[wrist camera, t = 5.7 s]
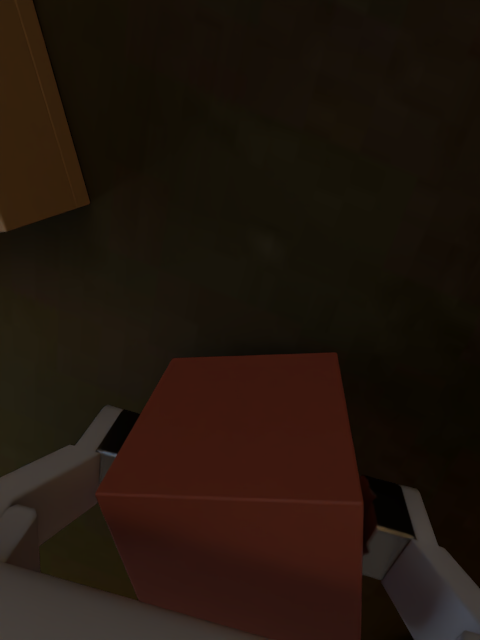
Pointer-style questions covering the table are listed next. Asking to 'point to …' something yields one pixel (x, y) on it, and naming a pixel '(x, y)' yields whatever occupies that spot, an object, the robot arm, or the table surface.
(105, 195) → the table surface
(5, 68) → the tray
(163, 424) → the block
